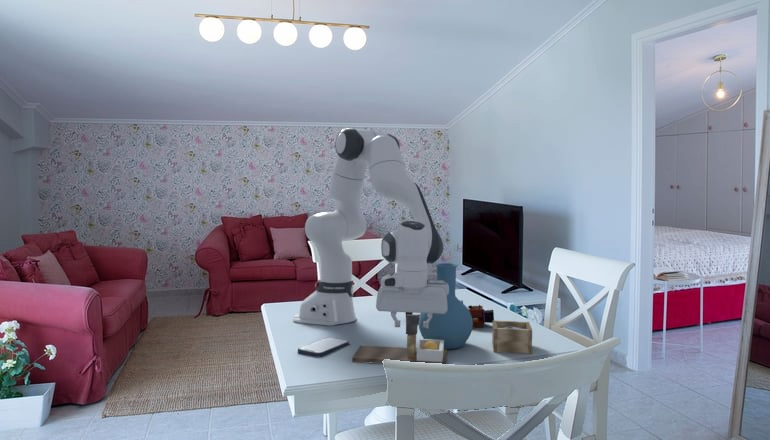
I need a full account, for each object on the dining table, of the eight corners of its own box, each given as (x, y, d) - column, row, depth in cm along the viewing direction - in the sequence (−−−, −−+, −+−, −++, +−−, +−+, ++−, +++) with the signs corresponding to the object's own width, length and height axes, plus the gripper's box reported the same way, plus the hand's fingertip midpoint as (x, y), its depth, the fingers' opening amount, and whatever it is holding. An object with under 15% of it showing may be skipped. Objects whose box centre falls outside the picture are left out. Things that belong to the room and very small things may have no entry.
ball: (427, 359, 164) (420, 347, 164) (428, 355, 168) (421, 343, 168) (440, 352, 163) (432, 340, 163) (440, 348, 167) (433, 336, 167)
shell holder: (493, 351, 173) (494, 328, 172) (492, 342, 183) (492, 320, 182) (531, 353, 171) (532, 330, 171) (528, 344, 181) (528, 321, 181)
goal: (416, 360, 160) (416, 349, 160) (419, 348, 171) (420, 338, 171) (442, 361, 159) (442, 351, 159) (443, 350, 170) (444, 339, 170)
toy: (413, 300, 221) (494, 297, 214) (414, 318, 222) (495, 316, 215) (399, 316, 196) (490, 313, 189) (401, 337, 196) (492, 335, 189)
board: (352, 361, 163) (352, 357, 163) (359, 349, 174) (360, 345, 174) (445, 366, 159) (445, 362, 159) (447, 353, 171) (447, 349, 171)
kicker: (405, 356, 163) (405, 318, 163) (407, 350, 169) (407, 313, 169) (415, 357, 163) (416, 318, 162) (417, 350, 169) (418, 313, 168)
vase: (471, 338, 187) (472, 261, 185) (473, 354, 171) (474, 269, 169) (419, 336, 189) (420, 259, 187) (416, 351, 173) (417, 268, 171)
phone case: (327, 341, 184) (295, 354, 171) (327, 336, 184) (295, 348, 170) (350, 346, 180) (320, 359, 166) (351, 341, 180) (320, 353, 166)
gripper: (449, 278, 166) (448, 326, 167) (378, 276, 169) (378, 323, 170) (448, 282, 160) (448, 332, 161) (375, 280, 163) (374, 328, 164)
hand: (411, 327), depth 166 cm, fingers open, 7 cm apart
